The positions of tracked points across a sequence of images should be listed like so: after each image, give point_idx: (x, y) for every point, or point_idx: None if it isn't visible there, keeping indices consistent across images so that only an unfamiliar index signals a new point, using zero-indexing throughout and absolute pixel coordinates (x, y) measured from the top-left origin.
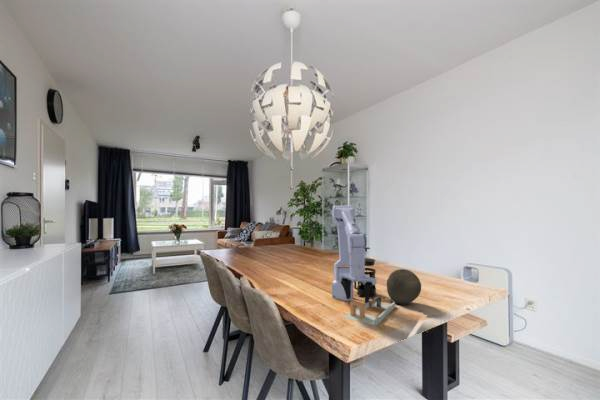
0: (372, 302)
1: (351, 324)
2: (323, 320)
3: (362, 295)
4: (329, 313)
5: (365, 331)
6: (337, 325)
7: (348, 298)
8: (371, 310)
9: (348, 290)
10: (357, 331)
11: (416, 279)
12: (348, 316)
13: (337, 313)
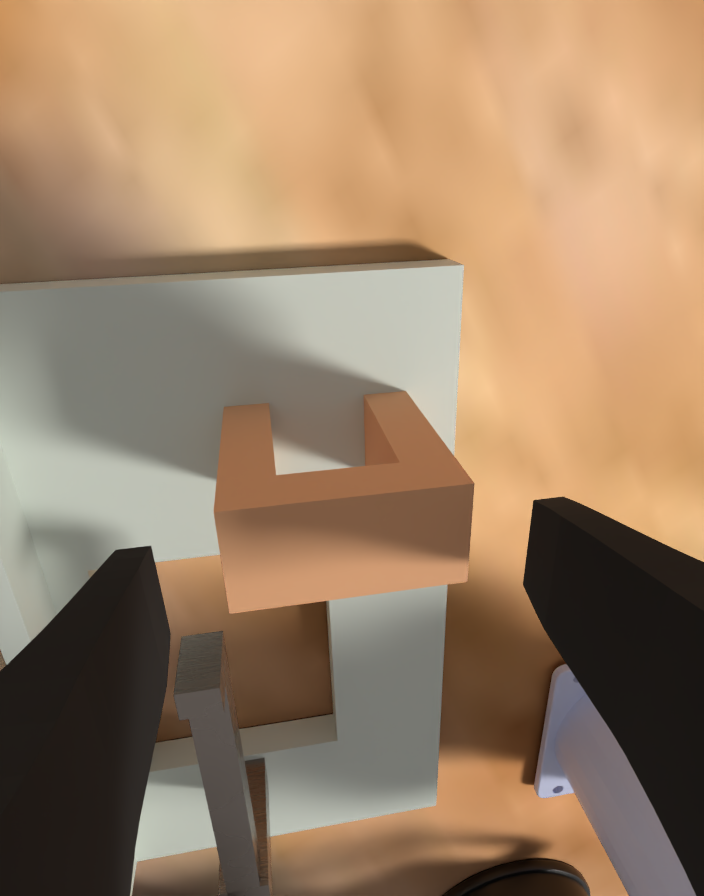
0: (195, 722)
1: (297, 213)
2: (684, 74)
3: (520, 872)
4: (677, 341)
5: (6, 114)
6: (446, 39)
7: (536, 516)
8: (302, 693)
9: (634, 647)
10: (96, 28)
11: None
12: (411, 337)
13: (590, 404)
